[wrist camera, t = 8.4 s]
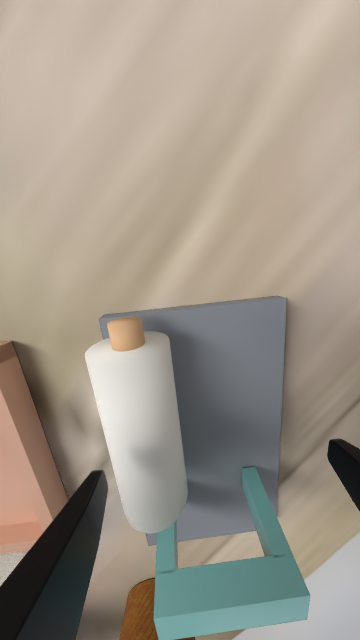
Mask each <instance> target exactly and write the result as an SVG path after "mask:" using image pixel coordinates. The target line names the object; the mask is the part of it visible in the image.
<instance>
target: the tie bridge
mask: <svg viewBox="0 0 360 640" xmlns="http://www.w3.org/2000/svg"><path fill="white" fill-rule="evenodd" d="M242 488H243V491H244V494H245V497H246V500H247V503H248V506H249V509H250V513H251V516H252V519H253V522H254V525H255V528H256V531H257V534H258V537H259V540H260V543H261V546H262V549H263V552H264V555H265V557H258V558H251V559H244V560H237V561H230V562H223V563H216V564H209V565H202V566H195V567H188V568H181V569H178V550H177V520H176V521H175V522H174V523H173V524H172V525H171V526H170V527H168V528H166V529H165V530H163V531H161V532H157V551H156V574H155V597H154V623H155V627H156V631H157V635H158V639H159V640H175V639H182V638H189V637H195V636H202V635H208V634H215V633H222V632H228V631H235V630H241V629H248V628H254V627H261V626H267V625H274V624H281V623H287V622H294V621H300V620H307V615H308V608H309V601H310V594H309V591H308V589H307V587H306V584H305V582H304V580H303V577H302V575H301V573H300V570H299V568H298V566H297V563H296V561H295V559H294V556H293V554H292V552H291V549H290V547H289V545H288V542H287V540H286V538H285V535H284V533H283V531H282V528H281V526H280V524H279V521H278V519H277V517H276V514H275V512H274V510H273V507H272V505H271V503H270V500H269V498H268V496H267V493H266V491H265V489H264V486H263V484H262V482H261V479H260V477H259V475H258V472H257V470H256V468H255V467H250V468H242Z"/></svg>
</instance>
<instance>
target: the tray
mask: <svg viewBox="0 0 360 640" xmlns="http://www.w3.org/2000/svg"><path fill="white" fill-rule="evenodd" d="M67 502H68V498H67V496H66V493H65V490H64V487H63V484H62V481H61V479H60V476H59V473H58V470H57V467H56V465H55V462H54V459H53V456H52V453H51V450H50V448H49V445H48V442H47V439H46V436H45V433H44V431H43V428H42V425H41V422H40V419H39V417H38V414H37V411H36V408H35V405H34V402H33V400H32V397H31V394H30V391H29V388H28V386H27V383H26V380H25V377H24V374H23V371H22V369H21V366H20V363H19V360H18V357H17V354H16V352H15V349H14V346H13V343H12V341H5V342H0V554H6V553H13V552H20V551H28V550H30V549H31V547H32V546H33V545H34V544H35V542H36V541H37V540H38V538H39V537H40V536H41V535H42V533H43V532H44V531H45V530H46V528H47V527H48V526H49V525H50V523H51V522H52V521H53V520H54V518H55V517H56V516H57V515H58V513H59V512H60V511H61V509H62V508H63V507H64V506H65V504H66V503H67Z"/></svg>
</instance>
